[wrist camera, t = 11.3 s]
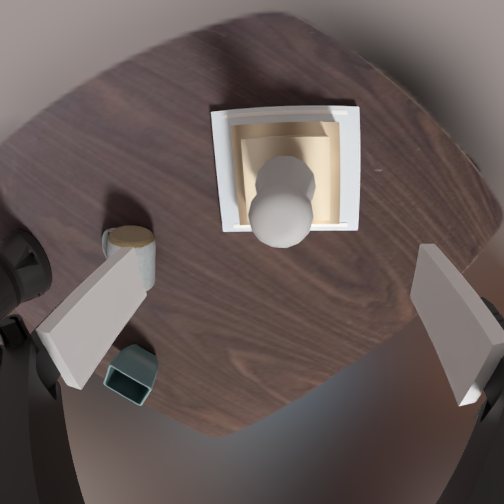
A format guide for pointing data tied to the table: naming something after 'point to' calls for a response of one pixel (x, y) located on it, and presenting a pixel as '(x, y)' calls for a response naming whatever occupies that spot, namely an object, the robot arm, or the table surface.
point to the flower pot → (132, 373)
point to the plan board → (341, 114)
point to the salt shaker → (282, 202)
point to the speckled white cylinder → (140, 241)
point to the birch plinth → (290, 130)
